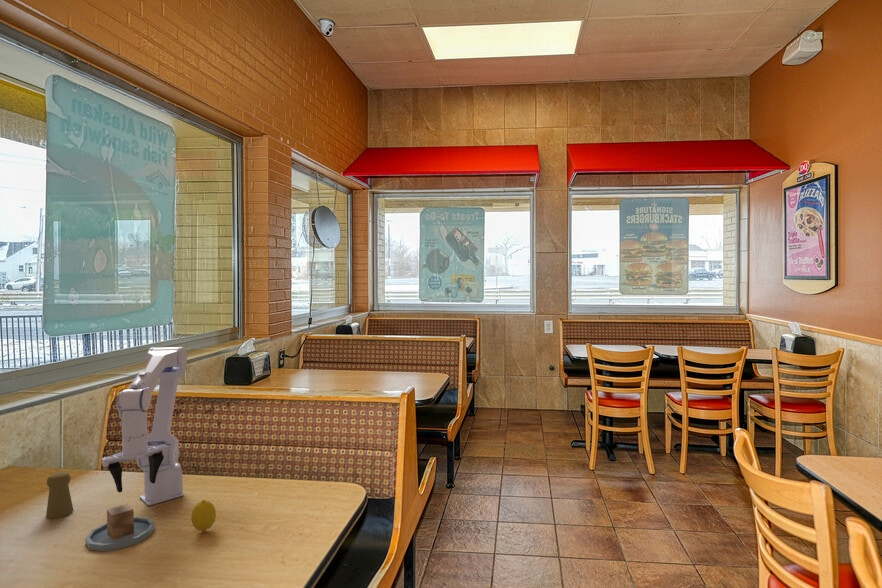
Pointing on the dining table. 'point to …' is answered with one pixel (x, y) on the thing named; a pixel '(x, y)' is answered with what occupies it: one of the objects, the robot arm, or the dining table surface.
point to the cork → (59, 495)
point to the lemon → (203, 515)
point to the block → (120, 521)
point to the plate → (104, 542)
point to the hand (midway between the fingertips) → (136, 486)
